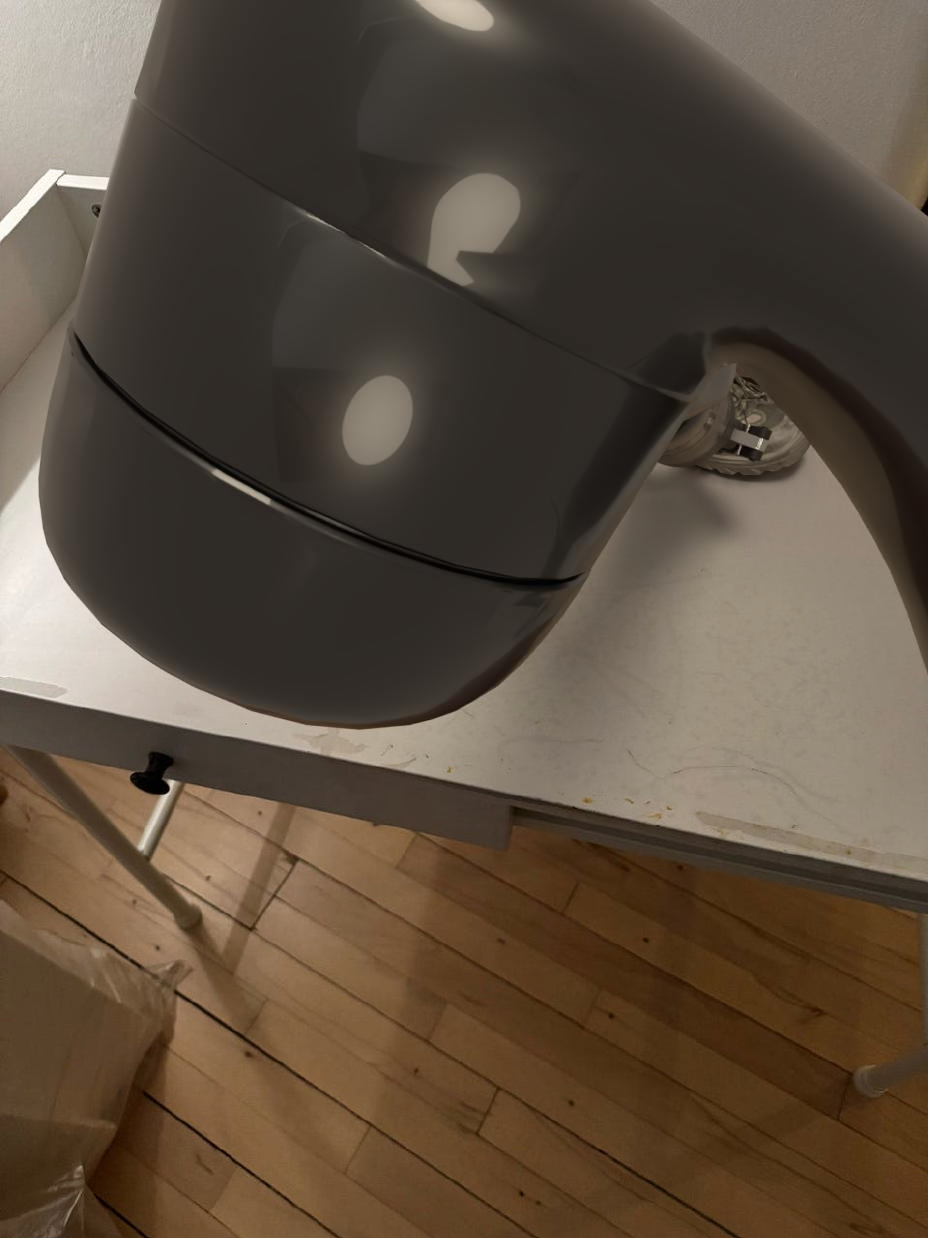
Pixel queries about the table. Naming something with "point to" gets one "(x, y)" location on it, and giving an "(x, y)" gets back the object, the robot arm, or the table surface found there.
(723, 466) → the hiking shoe
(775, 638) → the table surface
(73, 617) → the table surface
